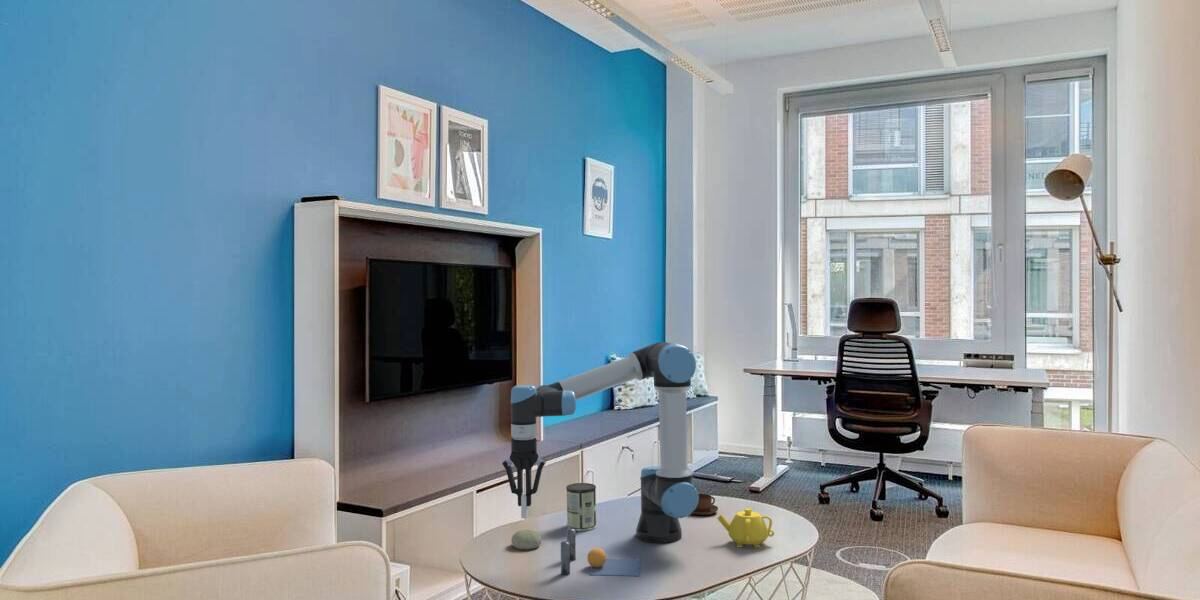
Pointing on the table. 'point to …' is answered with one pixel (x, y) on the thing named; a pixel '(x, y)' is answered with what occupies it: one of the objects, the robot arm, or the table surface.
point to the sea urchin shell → (526, 539)
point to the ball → (596, 557)
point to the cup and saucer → (705, 505)
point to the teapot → (747, 527)
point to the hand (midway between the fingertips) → (524, 516)
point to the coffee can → (581, 506)
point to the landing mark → (618, 568)
